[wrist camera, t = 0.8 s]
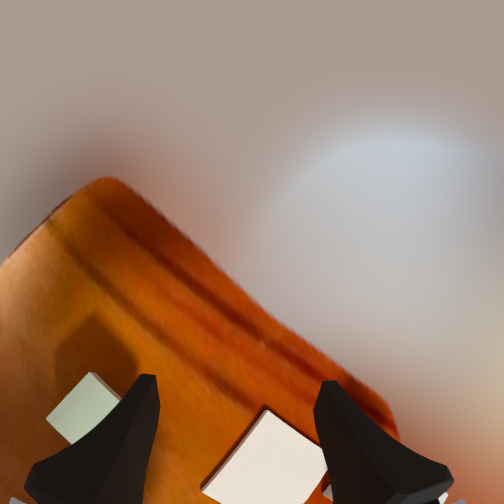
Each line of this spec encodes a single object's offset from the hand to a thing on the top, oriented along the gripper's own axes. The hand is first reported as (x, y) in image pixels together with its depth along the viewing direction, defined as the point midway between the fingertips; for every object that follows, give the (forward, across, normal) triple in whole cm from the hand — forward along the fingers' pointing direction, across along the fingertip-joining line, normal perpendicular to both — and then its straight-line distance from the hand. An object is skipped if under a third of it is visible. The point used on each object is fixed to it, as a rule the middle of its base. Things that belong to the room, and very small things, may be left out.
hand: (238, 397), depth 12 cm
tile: (+5, -4, +18) cm, 19 cm away
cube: (+6, +11, +10) cm, 16 cm away
